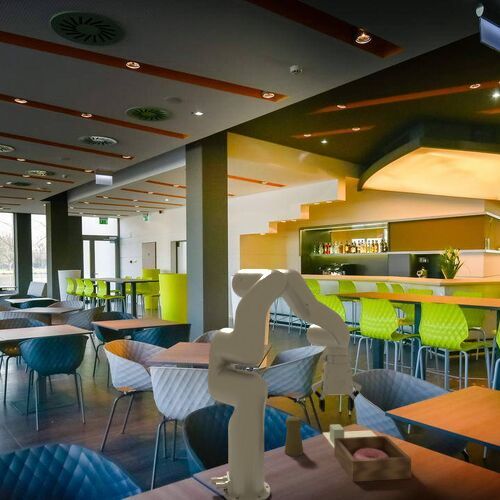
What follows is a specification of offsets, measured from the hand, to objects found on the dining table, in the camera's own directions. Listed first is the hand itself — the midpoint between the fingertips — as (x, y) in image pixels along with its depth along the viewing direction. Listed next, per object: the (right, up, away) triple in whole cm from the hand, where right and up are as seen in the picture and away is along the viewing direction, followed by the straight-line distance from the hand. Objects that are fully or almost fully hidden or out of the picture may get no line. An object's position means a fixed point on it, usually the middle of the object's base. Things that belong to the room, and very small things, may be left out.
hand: (336, 410), depth 152 cm
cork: (-15, -11, -8) cm, 20 cm away
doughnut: (+7, -11, -18) cm, 22 cm away
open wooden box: (+7, -10, -18) cm, 22 cm away
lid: (+7, -12, +1) cm, 13 cm away
